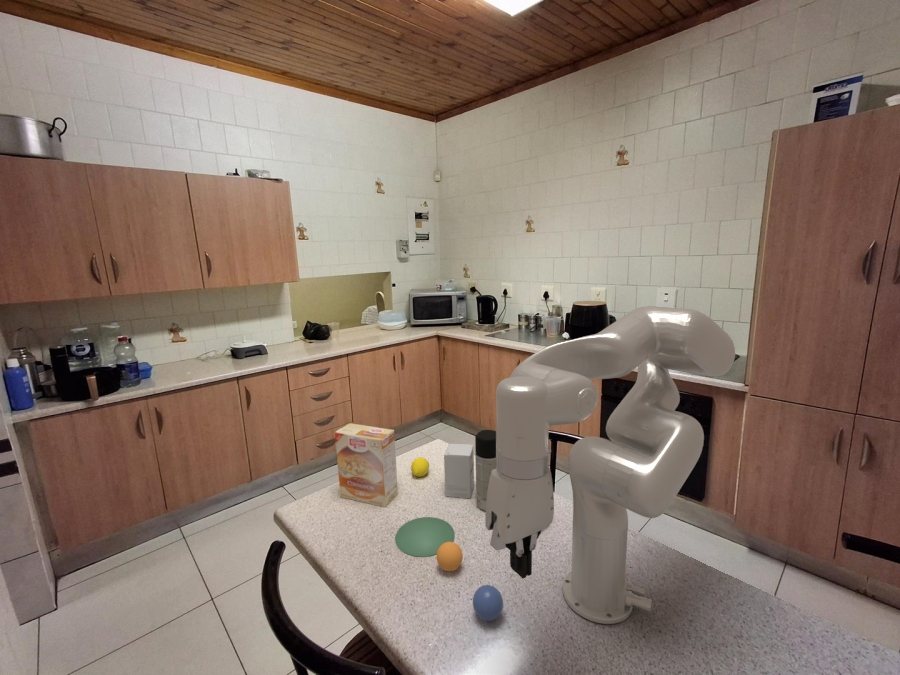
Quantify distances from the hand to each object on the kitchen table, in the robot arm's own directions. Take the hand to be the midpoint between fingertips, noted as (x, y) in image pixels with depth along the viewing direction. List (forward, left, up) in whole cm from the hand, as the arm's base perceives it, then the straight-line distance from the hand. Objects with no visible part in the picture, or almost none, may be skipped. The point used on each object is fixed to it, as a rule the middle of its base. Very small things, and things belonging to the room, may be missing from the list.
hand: (520, 570), depth 63 cm
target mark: (+30, -19, -16) cm, 39 cm away
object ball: (+20, -13, -14) cm, 27 cm away
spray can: (+21, -37, -16) cm, 46 cm away
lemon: (+46, -43, -17) cm, 65 cm away
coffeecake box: (+53, -27, -17) cm, 62 cm away
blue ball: (+8, -5, -14) cm, 17 cm away
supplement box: (+31, -40, -17) cm, 53 cm away
